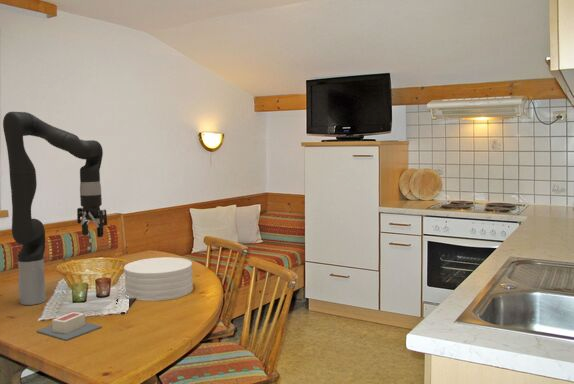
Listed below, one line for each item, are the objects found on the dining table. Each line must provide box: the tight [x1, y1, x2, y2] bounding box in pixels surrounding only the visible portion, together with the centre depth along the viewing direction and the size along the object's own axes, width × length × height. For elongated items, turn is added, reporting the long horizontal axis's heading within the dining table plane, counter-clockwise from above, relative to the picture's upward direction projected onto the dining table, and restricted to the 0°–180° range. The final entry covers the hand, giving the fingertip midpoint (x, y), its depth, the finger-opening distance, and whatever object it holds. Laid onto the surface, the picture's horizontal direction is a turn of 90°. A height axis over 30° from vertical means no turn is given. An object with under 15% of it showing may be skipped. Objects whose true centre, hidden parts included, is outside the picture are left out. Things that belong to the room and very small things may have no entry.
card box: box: [51, 311, 86, 334], centre depth 183 cm, size 9×6×4 cm, turn 156°
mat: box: [35, 321, 103, 342], centre depth 183 cm, size 16×14×1 cm
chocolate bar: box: [108, 298, 137, 315], centre depth 208 cm, size 9×1×18 cm
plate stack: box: [123, 256, 194, 302], centre depth 228 cm, size 28×28×12 cm
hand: (92, 235), depth 204 cm, fingers open, 8 cm apart
